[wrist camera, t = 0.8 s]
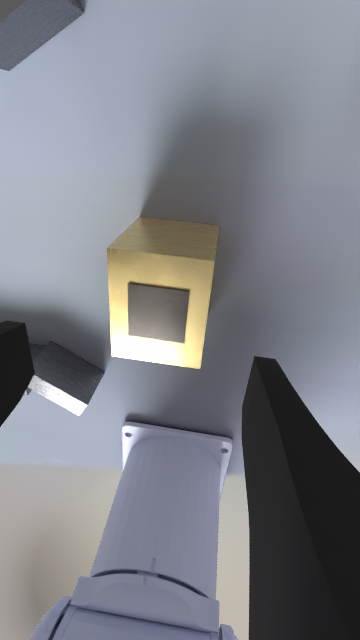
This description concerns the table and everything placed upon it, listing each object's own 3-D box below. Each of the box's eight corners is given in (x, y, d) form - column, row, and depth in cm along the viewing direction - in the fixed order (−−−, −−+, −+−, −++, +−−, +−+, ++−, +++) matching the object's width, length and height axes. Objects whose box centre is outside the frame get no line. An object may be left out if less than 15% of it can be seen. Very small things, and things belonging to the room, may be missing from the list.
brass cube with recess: (207, 313, 19) (199, 370, 14) (139, 304, 19) (110, 357, 15) (219, 225, 16) (214, 262, 12) (140, 216, 16) (106, 248, 12)
